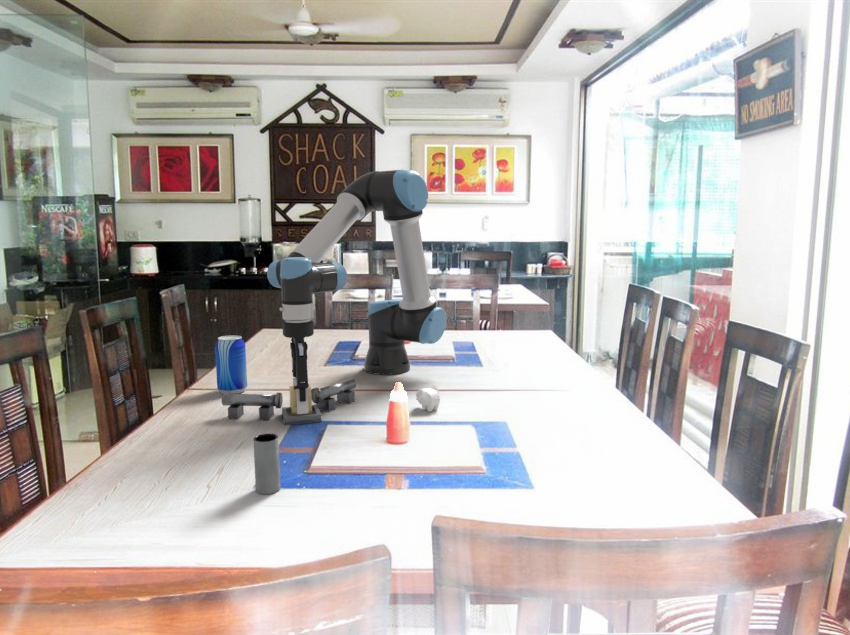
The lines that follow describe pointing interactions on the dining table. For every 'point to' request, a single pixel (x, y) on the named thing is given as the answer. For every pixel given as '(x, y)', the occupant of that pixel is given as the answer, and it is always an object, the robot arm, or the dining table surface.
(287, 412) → the grey square tray
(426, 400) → the elephant figurine
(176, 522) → the dining table surface
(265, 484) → the grey hollow tube
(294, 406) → the block
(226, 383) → the beer can
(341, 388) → the shaft
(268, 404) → the shaft
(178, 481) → the dining table surface
